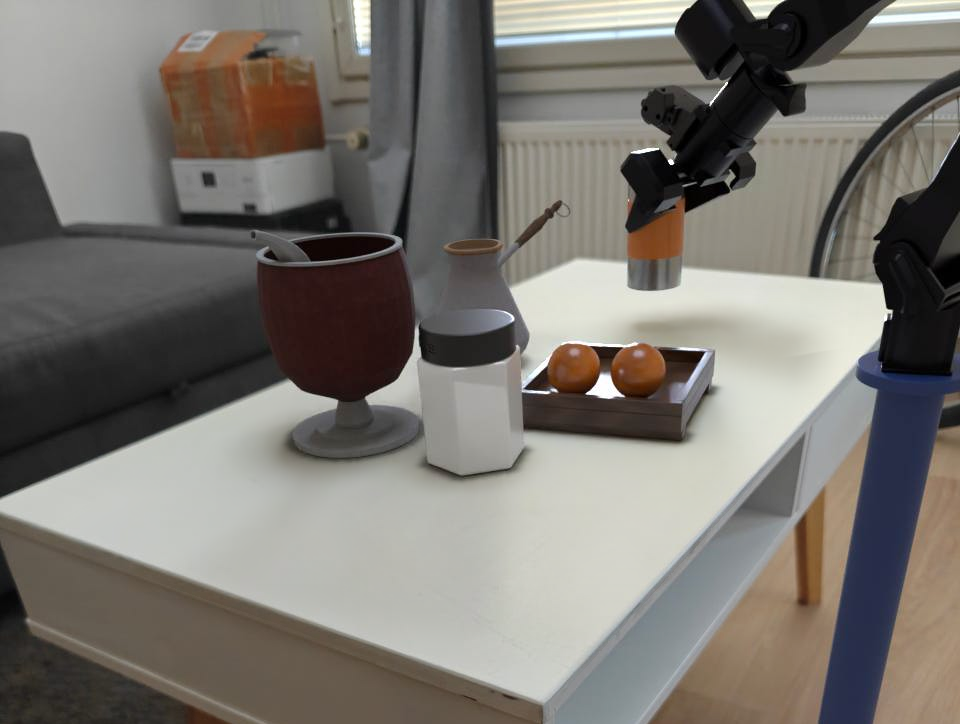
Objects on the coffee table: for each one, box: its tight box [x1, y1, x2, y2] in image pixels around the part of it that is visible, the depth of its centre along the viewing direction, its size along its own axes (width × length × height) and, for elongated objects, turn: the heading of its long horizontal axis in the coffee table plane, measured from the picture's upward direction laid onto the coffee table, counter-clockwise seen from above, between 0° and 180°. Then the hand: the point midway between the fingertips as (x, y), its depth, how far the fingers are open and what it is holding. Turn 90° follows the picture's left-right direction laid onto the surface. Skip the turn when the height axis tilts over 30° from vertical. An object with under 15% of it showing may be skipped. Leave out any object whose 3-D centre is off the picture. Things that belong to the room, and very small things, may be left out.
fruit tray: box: [521, 340, 716, 441], centre depth 89 cm, size 16×16×8 cm
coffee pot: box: [436, 199, 571, 356], centre depth 105 cm, size 21×12×15 cm, turn 137°
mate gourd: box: [249, 229, 420, 459], centre depth 84 cm, size 16×14×20 cm
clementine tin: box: [626, 159, 686, 292], centre depth 107 cm, size 6×6×13 cm
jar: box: [416, 309, 525, 477], centre depth 80 cm, size 9×8×12 cm
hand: (646, 224), depth 108 cm, fingers closed on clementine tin, 6 cm apart
